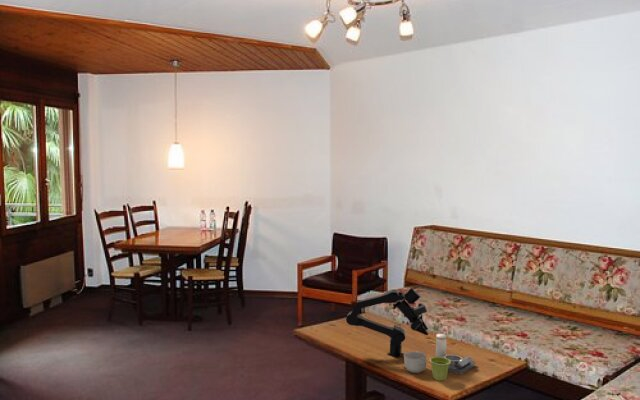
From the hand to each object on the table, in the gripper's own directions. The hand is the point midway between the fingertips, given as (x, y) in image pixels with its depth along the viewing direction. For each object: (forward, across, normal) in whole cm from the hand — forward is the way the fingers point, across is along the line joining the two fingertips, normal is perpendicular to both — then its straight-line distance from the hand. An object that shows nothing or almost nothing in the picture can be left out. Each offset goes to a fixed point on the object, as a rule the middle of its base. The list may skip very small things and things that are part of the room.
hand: (427, 332), depth 282 cm
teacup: (+6, -19, +14) cm, 24 cm away
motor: (+19, -11, -1) cm, 22 cm away
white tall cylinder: (+14, 0, +4) cm, 15 cm away
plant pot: (+13, -28, +6) cm, 32 cm away
